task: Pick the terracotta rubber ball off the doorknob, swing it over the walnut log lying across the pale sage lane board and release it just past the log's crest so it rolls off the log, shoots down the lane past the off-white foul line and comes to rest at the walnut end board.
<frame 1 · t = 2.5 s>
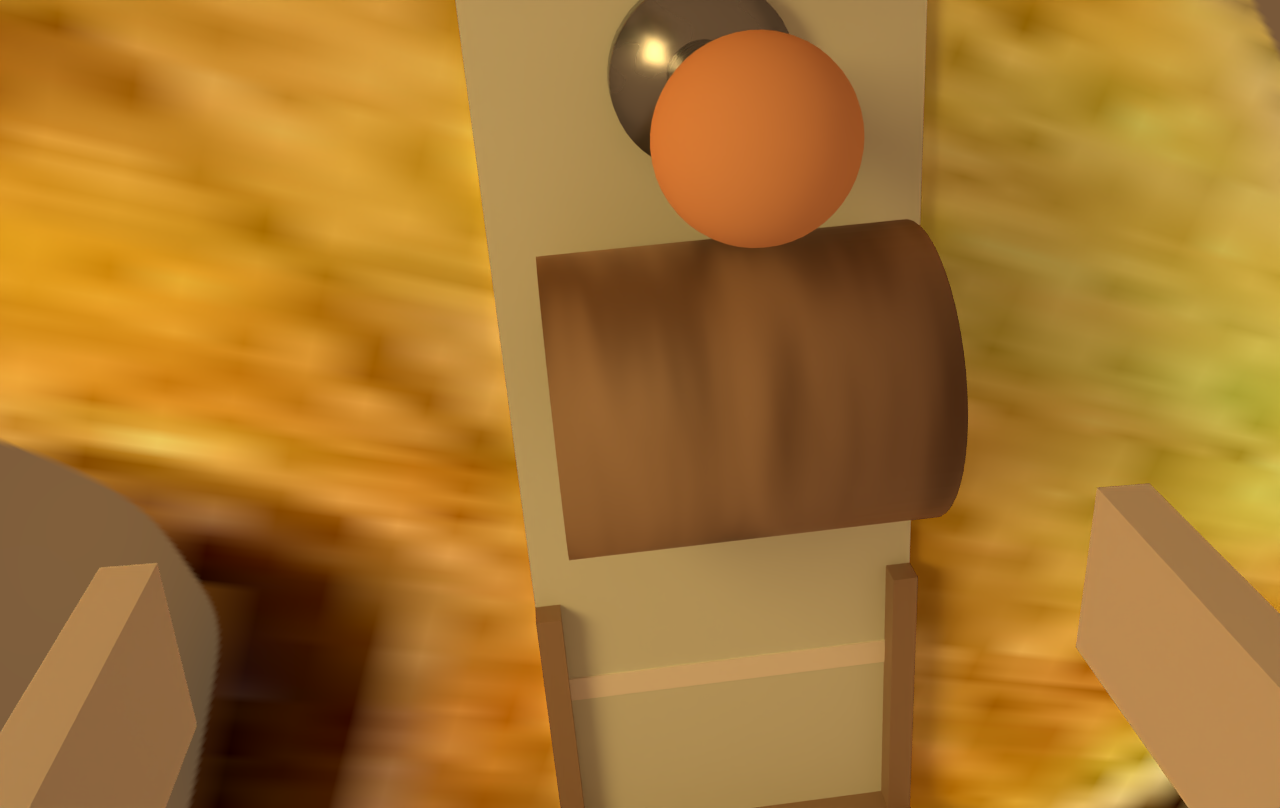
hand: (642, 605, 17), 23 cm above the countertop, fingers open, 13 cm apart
ball: (737, 118, 30), point 7 cm above the countertop, touching doorknob
log: (710, 328, 40), resting on lane
doorknob: (699, 72, 36), resting on lane
lane: (717, 470, 43), on the countertop
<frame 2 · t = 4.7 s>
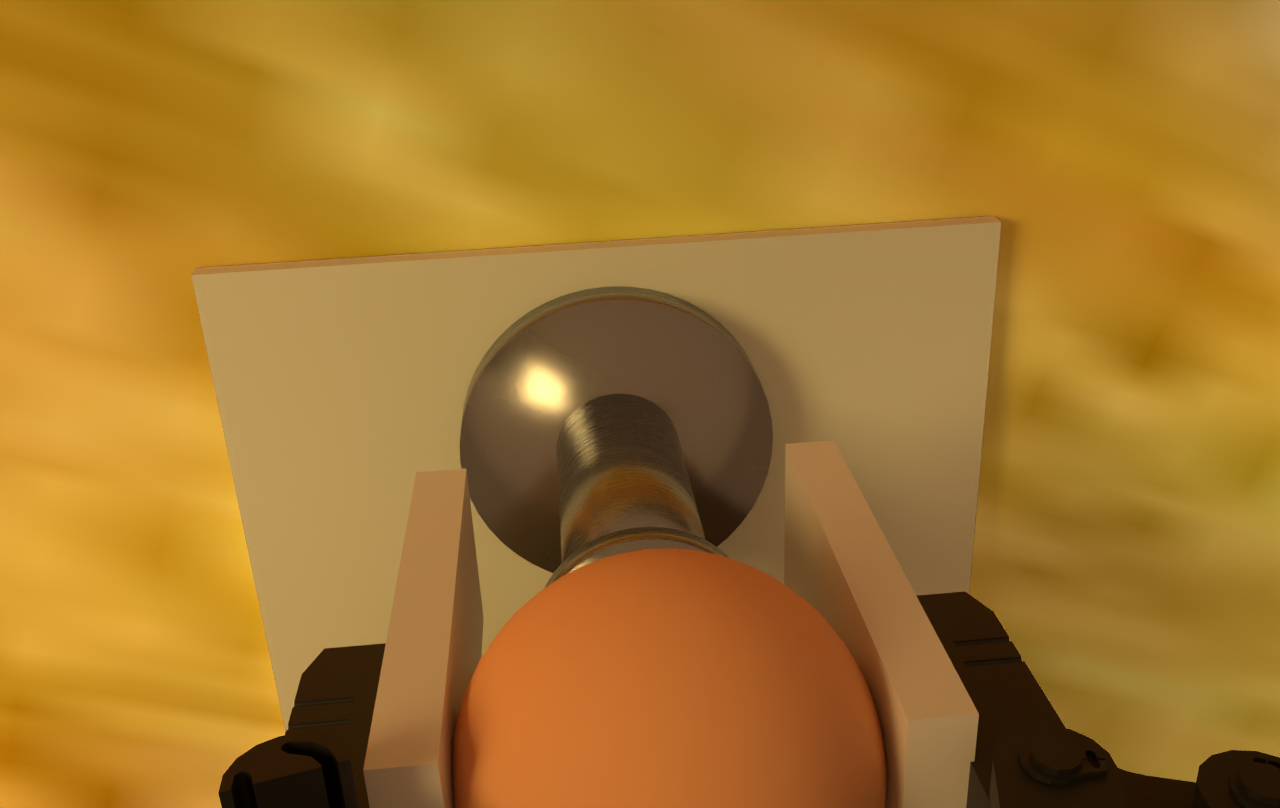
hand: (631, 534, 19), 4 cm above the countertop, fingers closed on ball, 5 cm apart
ball: (647, 637, 16), point 7 cm above the countertop, touching gripper, doorknob
doorknob: (614, 430, 22), resting on lane
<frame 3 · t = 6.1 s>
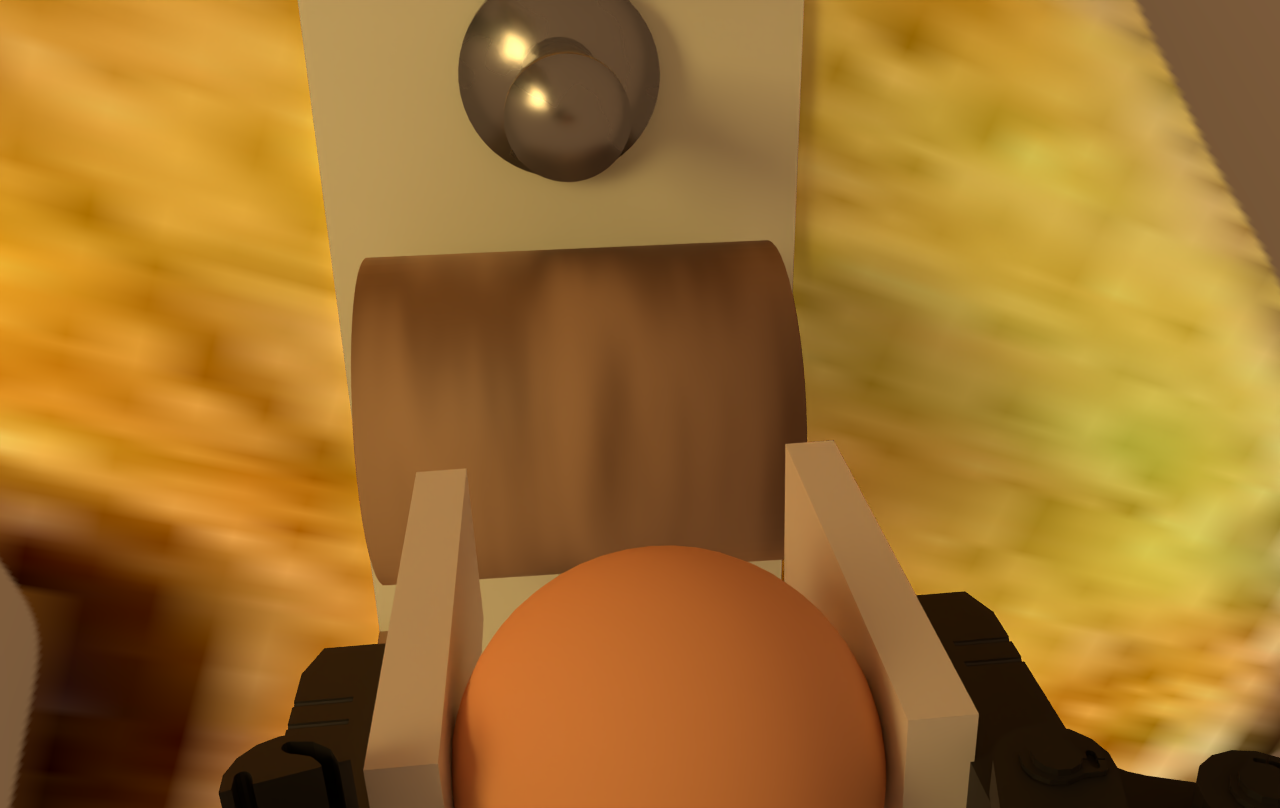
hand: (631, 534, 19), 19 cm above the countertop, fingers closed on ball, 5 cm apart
ball: (647, 635, 16), point 22 cm above the countertop, touching gripper
log: (570, 345, 38), resting on lane
doorknob: (558, 72, 34), resting on lane
lane: (577, 496, 40), on the countertop
when the fingers open (11 cm above the countertop, at t = 7.3 s): ball drops 10 cm and tips over, resting on lane.
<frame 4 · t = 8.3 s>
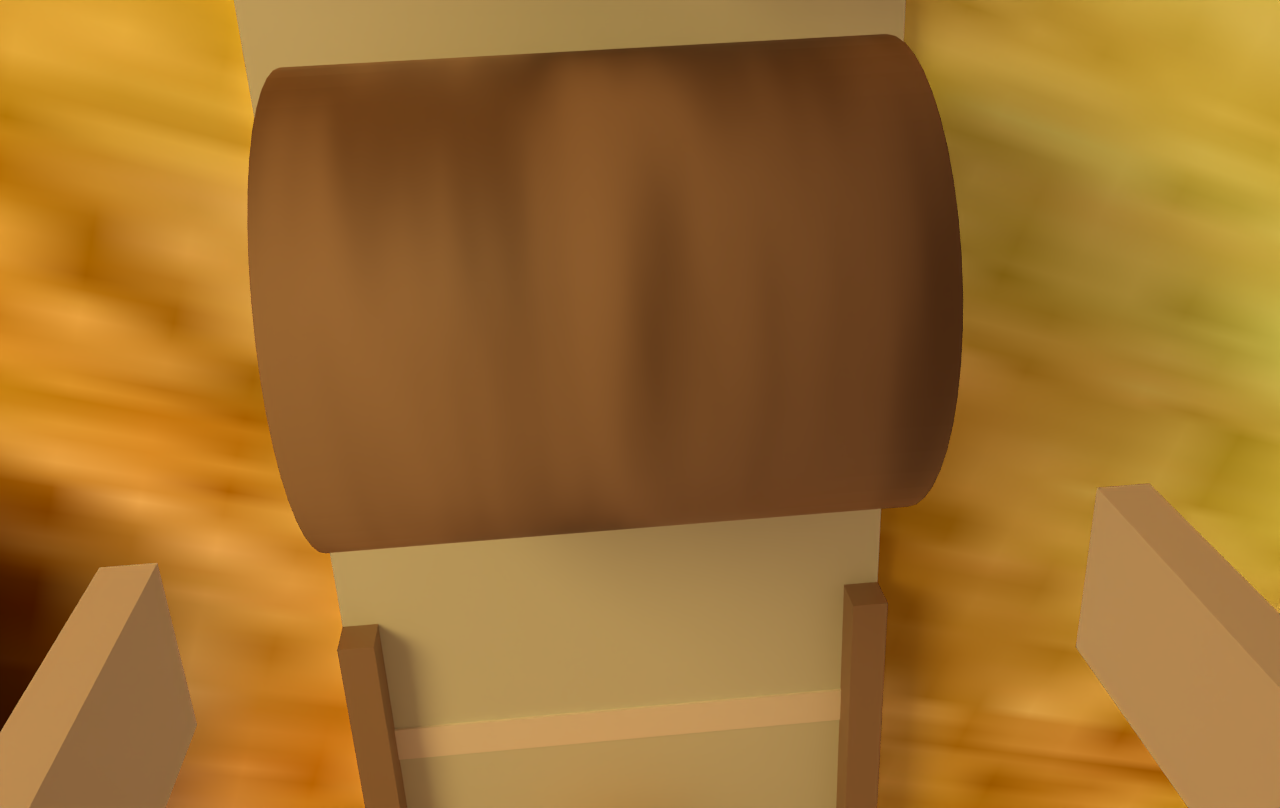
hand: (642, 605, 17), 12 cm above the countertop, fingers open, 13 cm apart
log: (590, 224, 27), resting on lane
lane: (603, 439, 30), on the countertop
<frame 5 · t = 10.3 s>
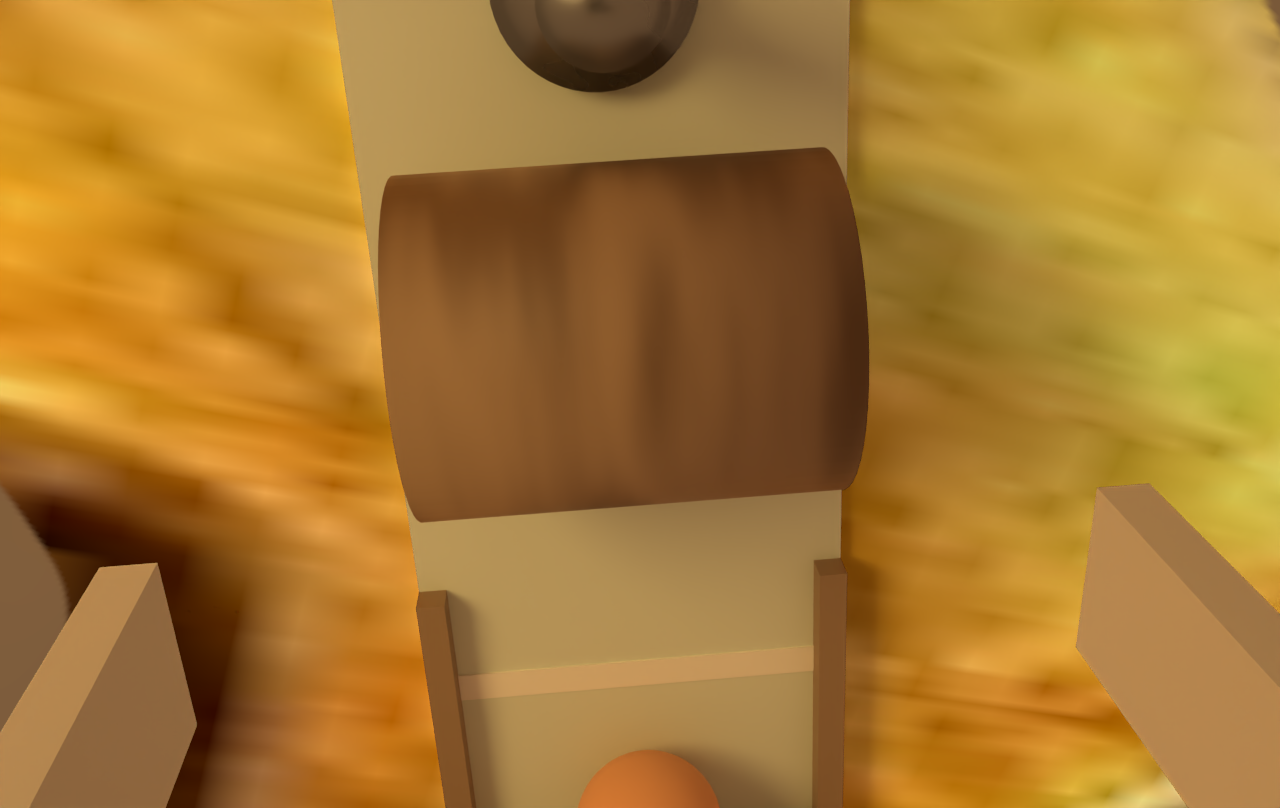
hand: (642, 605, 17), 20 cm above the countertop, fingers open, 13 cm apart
ball: (644, 765, 40), point 3 cm above the countertop, tilted 87°, touching lane
log: (612, 279, 36), resting on lane
lane: (622, 444, 38), on the countertop
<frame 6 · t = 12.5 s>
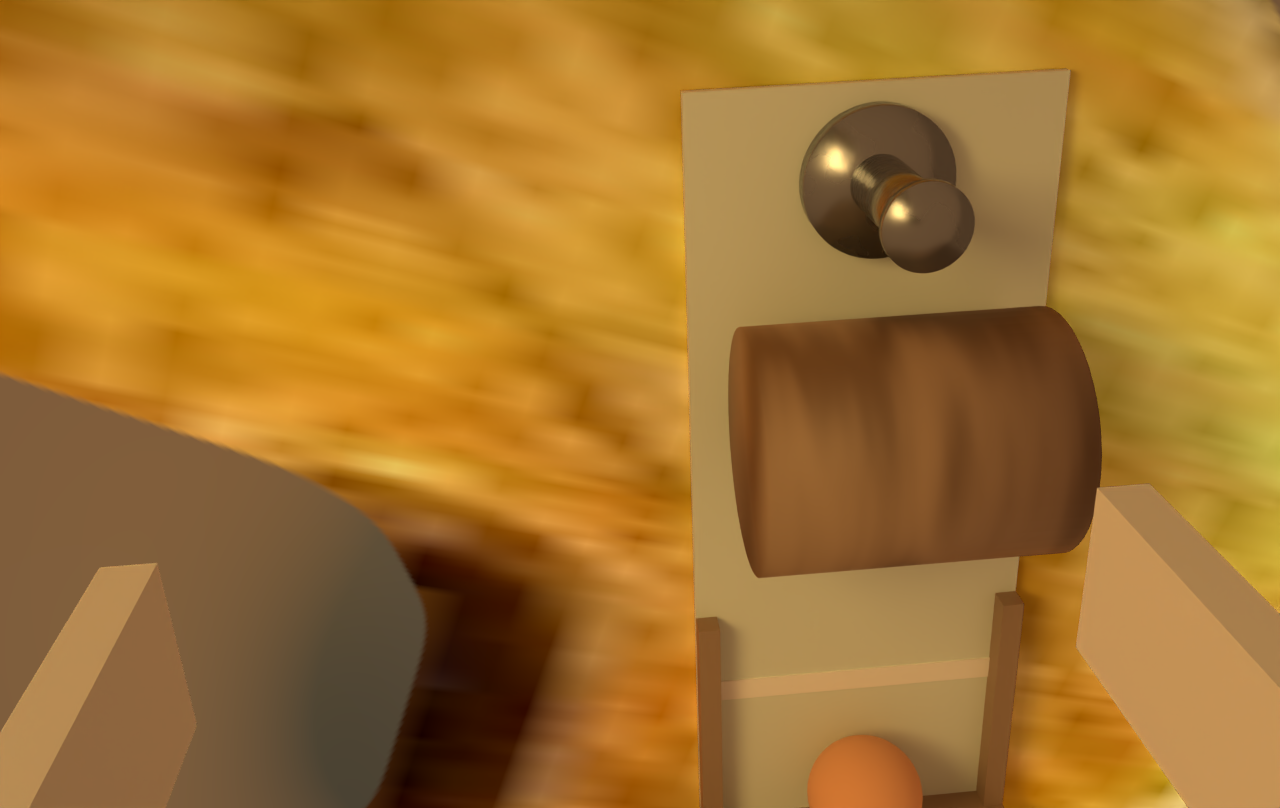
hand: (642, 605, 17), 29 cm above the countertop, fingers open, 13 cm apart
ball: (864, 744, 52), point 3 cm above the countertop, tilted 83°, touching lane
log: (863, 386, 48), resting on lane
doorknob: (874, 178, 44), resting on lane
lane: (858, 506, 50), on the countertop
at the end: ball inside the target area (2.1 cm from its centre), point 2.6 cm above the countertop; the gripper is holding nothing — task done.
